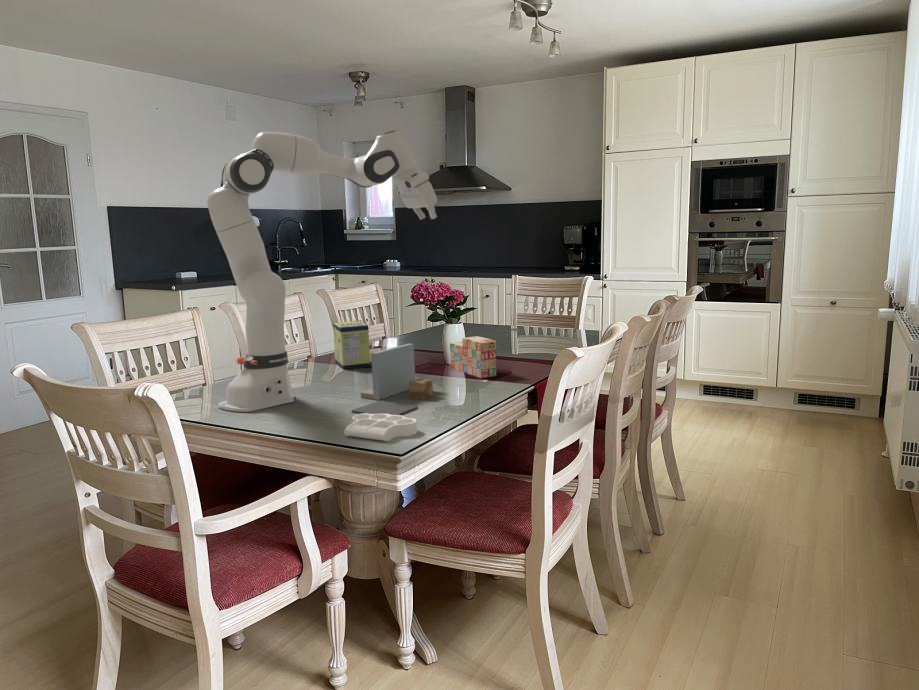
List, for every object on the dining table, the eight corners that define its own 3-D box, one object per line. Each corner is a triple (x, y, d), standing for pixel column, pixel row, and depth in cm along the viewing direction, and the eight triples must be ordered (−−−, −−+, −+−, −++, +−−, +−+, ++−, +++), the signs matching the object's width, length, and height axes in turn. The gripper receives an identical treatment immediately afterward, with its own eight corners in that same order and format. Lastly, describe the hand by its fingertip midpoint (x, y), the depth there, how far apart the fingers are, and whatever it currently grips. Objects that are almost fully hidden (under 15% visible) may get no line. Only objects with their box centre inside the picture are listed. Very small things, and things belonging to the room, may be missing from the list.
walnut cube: (423, 400, 198) (422, 382, 197) (409, 398, 201) (408, 381, 200) (433, 396, 202) (432, 379, 201) (419, 394, 205) (419, 377, 204)
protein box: (361, 359, 262) (359, 320, 260) (371, 367, 248) (369, 325, 245) (334, 362, 259) (332, 322, 256) (343, 370, 244) (340, 327, 242)
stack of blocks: (450, 368, 242) (449, 334, 240) (465, 366, 245) (464, 332, 243) (481, 378, 224) (480, 342, 222) (497, 376, 227) (496, 340, 225)
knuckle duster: (334, 437, 165) (367, 421, 178) (396, 446, 157) (427, 429, 170) (333, 424, 165) (367, 409, 178) (395, 432, 157) (426, 416, 170)
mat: (390, 418, 179) (390, 416, 179) (351, 412, 186) (351, 410, 186) (418, 408, 189) (417, 406, 188) (379, 402, 196) (379, 400, 196)
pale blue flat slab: (378, 400, 199) (376, 353, 196) (360, 397, 203) (358, 351, 200) (415, 387, 214) (413, 343, 211) (398, 385, 217) (396, 342, 215)
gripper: (390, 185, 223) (409, 223, 228) (412, 182, 205) (432, 223, 210) (405, 177, 225) (424, 214, 230) (429, 172, 207) (449, 213, 212)
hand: (428, 218), depth 220 cm, fingers open, 8 cm apart
